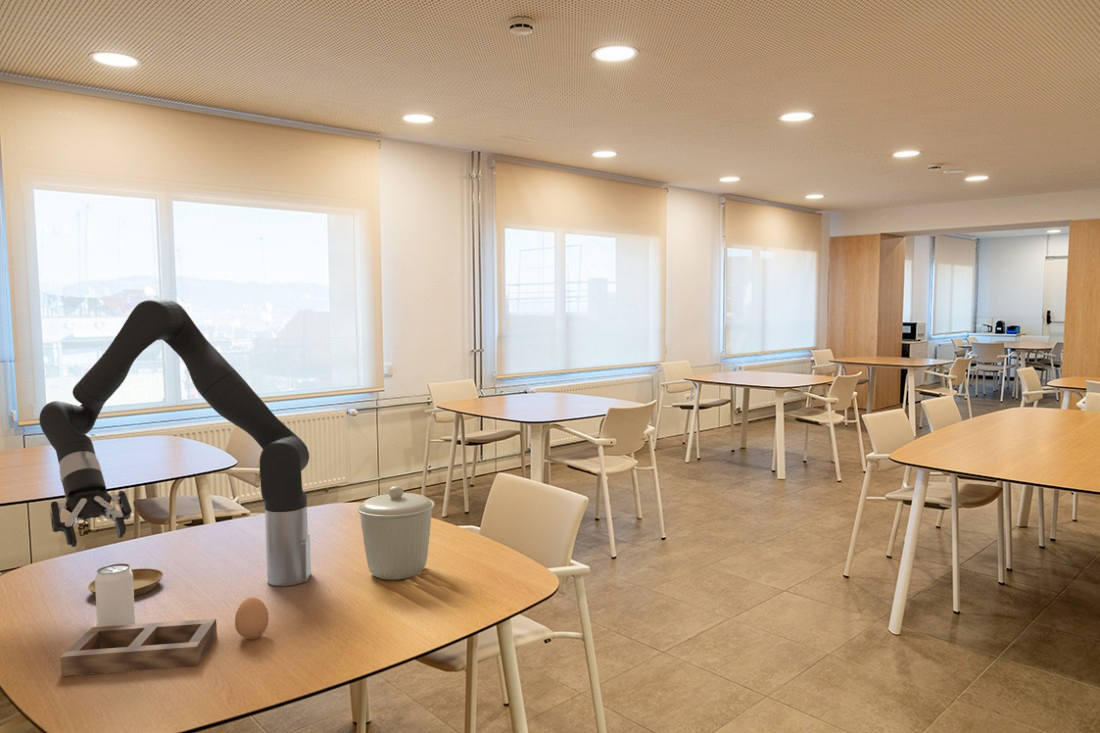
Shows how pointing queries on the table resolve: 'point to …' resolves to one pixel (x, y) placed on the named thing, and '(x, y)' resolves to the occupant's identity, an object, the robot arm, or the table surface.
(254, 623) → the egg
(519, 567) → the table surface
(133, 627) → the rack
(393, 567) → the canister
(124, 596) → the can
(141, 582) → the plant saucer
